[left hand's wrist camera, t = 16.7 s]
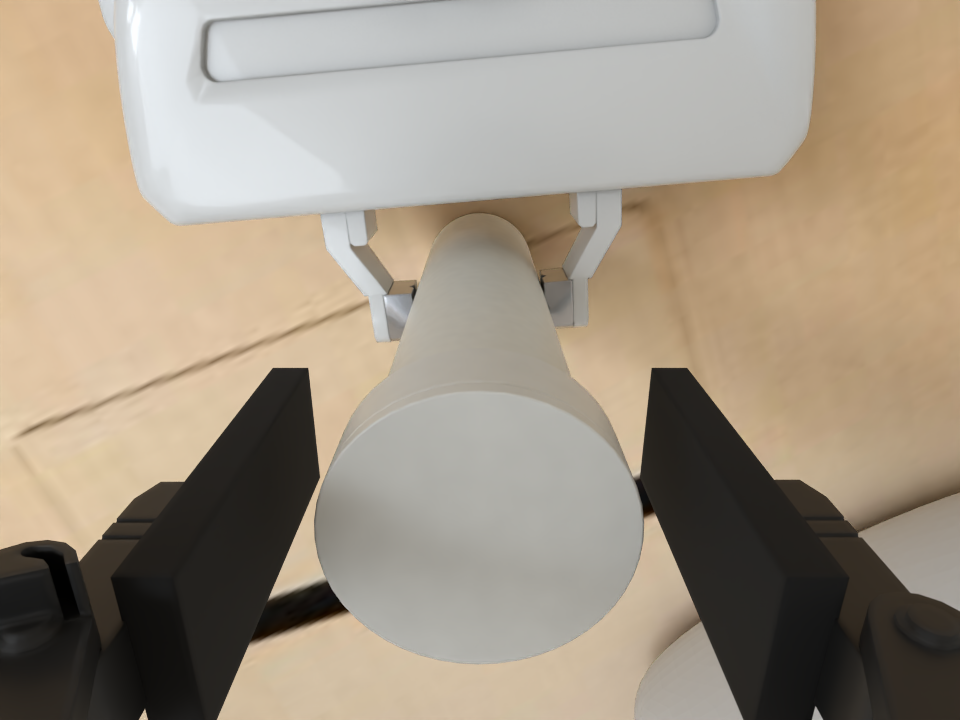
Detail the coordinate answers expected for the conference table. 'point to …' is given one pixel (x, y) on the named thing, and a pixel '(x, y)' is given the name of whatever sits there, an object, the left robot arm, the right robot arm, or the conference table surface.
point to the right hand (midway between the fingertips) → (483, 329)
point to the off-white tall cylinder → (479, 296)
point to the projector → (715, 715)
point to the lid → (479, 509)
